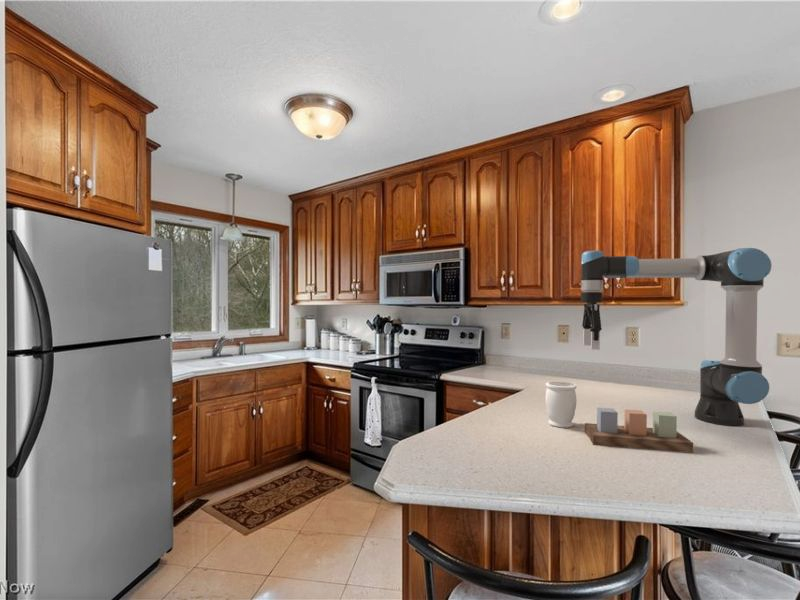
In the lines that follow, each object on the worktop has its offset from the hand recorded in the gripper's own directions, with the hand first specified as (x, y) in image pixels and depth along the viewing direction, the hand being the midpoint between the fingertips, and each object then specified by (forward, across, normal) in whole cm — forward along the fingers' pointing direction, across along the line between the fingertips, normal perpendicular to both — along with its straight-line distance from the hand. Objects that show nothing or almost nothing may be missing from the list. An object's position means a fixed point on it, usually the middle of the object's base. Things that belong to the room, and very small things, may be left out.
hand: (591, 347), depth 157 cm
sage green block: (+26, +21, +18) cm, 38 cm away
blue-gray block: (+26, +22, +1) cm, 34 cm away
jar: (+28, +9, -12) cm, 32 cm away
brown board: (+28, +22, +9) cm, 36 cm away
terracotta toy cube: (+26, +22, +9) cm, 35 cm away
